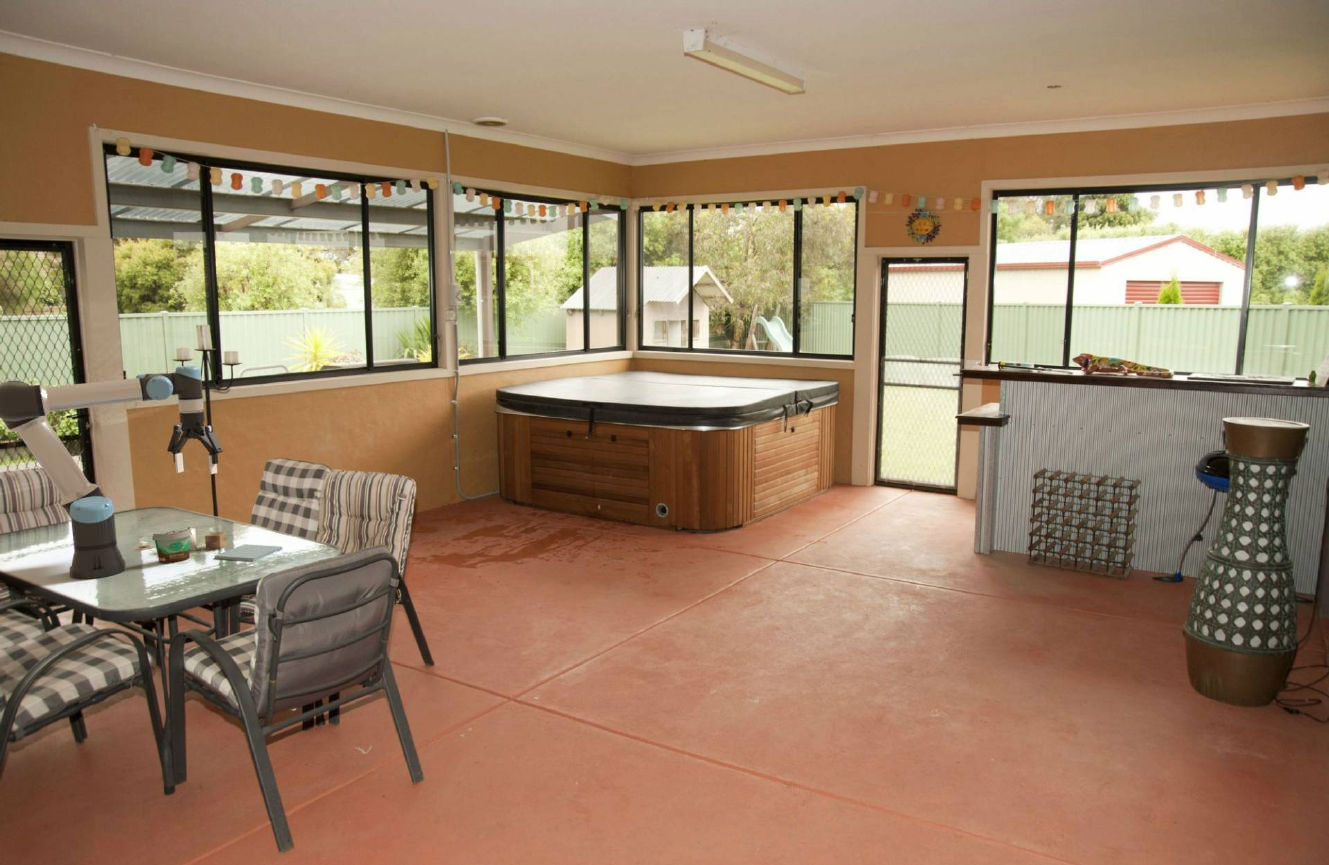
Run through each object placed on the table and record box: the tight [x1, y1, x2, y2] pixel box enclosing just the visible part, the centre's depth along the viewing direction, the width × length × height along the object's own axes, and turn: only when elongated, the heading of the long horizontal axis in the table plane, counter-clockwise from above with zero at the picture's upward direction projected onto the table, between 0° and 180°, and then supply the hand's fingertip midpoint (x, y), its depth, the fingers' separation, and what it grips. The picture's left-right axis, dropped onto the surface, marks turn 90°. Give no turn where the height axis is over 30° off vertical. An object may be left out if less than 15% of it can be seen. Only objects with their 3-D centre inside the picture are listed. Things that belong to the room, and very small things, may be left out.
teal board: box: [214, 543, 283, 562], centre depth 315 cm, size 15×15×1 cm
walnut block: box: [204, 531, 228, 550], centre depth 323 cm, size 5×5×5 cm
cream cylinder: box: [178, 527, 198, 552], centre depth 321 cm, size 5×5×7 cm
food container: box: [152, 526, 192, 564], centre depth 307 cm, size 12×6×10 cm, turn 143°
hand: (196, 472), depth 319 cm, fingers open, 13 cm apart
